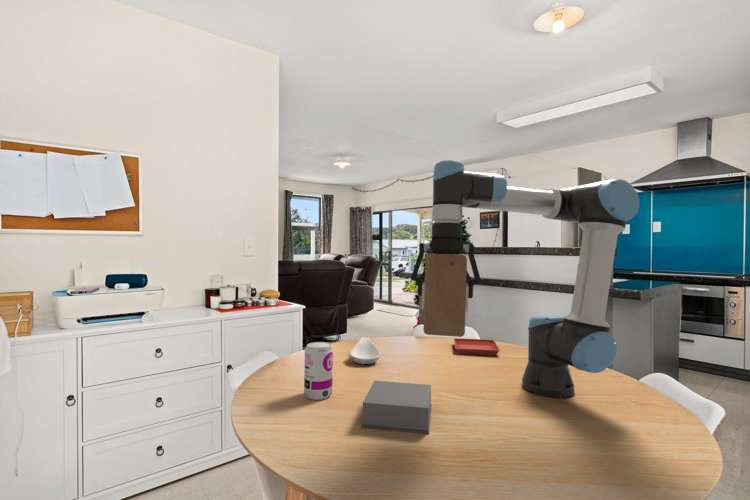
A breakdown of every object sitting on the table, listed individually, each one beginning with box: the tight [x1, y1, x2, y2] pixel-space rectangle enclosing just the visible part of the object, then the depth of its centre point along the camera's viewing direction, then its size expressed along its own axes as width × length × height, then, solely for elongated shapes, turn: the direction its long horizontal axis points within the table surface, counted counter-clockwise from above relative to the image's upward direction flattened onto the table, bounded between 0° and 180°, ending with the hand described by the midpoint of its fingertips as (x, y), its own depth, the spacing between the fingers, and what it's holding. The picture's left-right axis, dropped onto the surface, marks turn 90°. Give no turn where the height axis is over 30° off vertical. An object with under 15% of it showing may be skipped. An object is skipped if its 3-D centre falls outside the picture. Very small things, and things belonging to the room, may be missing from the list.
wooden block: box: [423, 253, 468, 338], centre depth 99 cm, size 10×10×20 cm
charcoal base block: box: [360, 380, 432, 435], centre depth 101 cm, size 16×16×6 cm
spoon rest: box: [349, 336, 381, 365], centre depth 154 cm, size 24×12×7 cm, turn 3°
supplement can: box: [303, 341, 334, 401], centre depth 114 cm, size 8×8×15 cm
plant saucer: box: [453, 337, 500, 357], centre depth 168 cm, size 18×18×3 cm
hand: (444, 309), depth 99 cm, fingers closed on wooden block, 10 cm apart
